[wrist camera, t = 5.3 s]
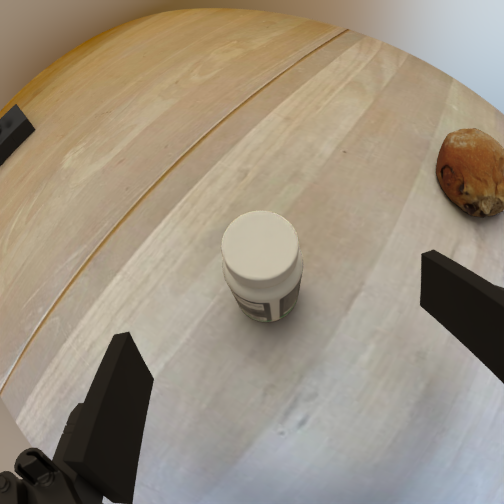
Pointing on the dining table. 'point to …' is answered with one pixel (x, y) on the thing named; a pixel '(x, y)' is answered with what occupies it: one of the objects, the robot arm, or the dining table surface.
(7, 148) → the black rectangular holder
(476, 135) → the bread roll
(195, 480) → the dining table surface
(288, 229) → the pill bottle
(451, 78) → the dining table surface
